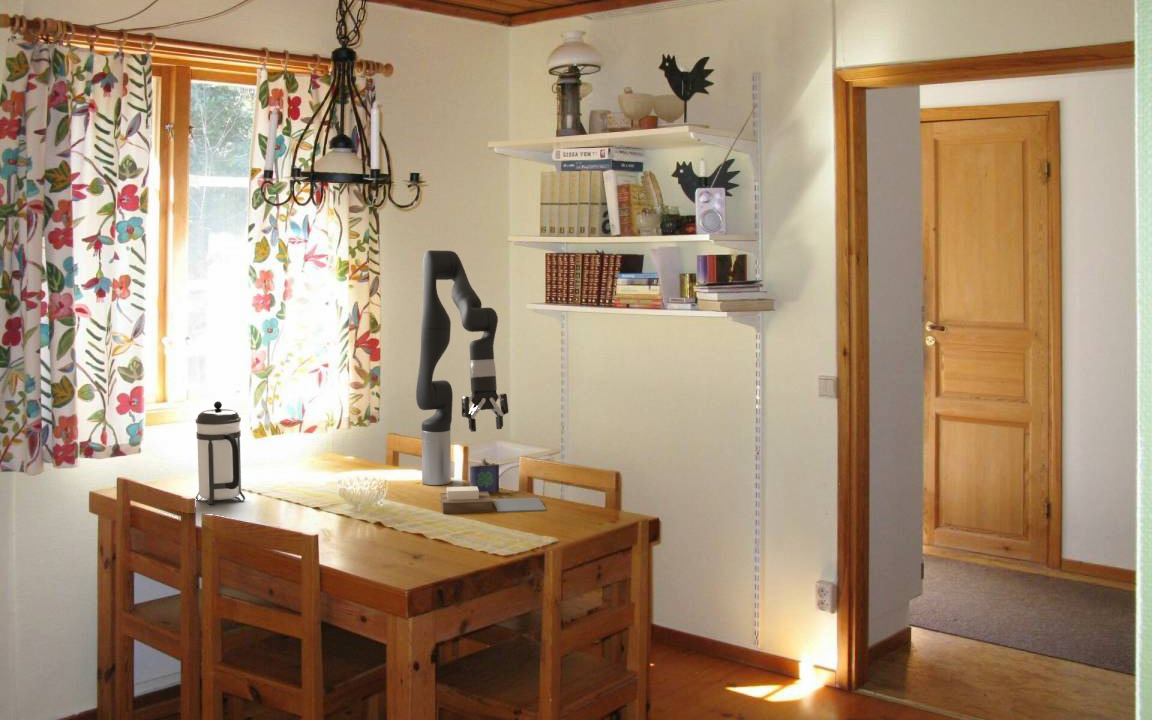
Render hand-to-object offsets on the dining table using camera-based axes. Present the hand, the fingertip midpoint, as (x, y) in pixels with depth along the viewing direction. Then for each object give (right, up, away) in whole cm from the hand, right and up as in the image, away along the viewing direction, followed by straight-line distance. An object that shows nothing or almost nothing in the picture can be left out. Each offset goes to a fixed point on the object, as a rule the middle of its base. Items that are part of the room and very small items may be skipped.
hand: (486, 430), depth 324 cm
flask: (-2, -21, +18) cm, 27 cm away
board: (-6, -22, -2) cm, 23 cm away
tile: (-7, -18, -3) cm, 20 cm away
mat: (+9, -22, 0) cm, 24 cm away
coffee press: (-79, -22, +5) cm, 82 cm away
